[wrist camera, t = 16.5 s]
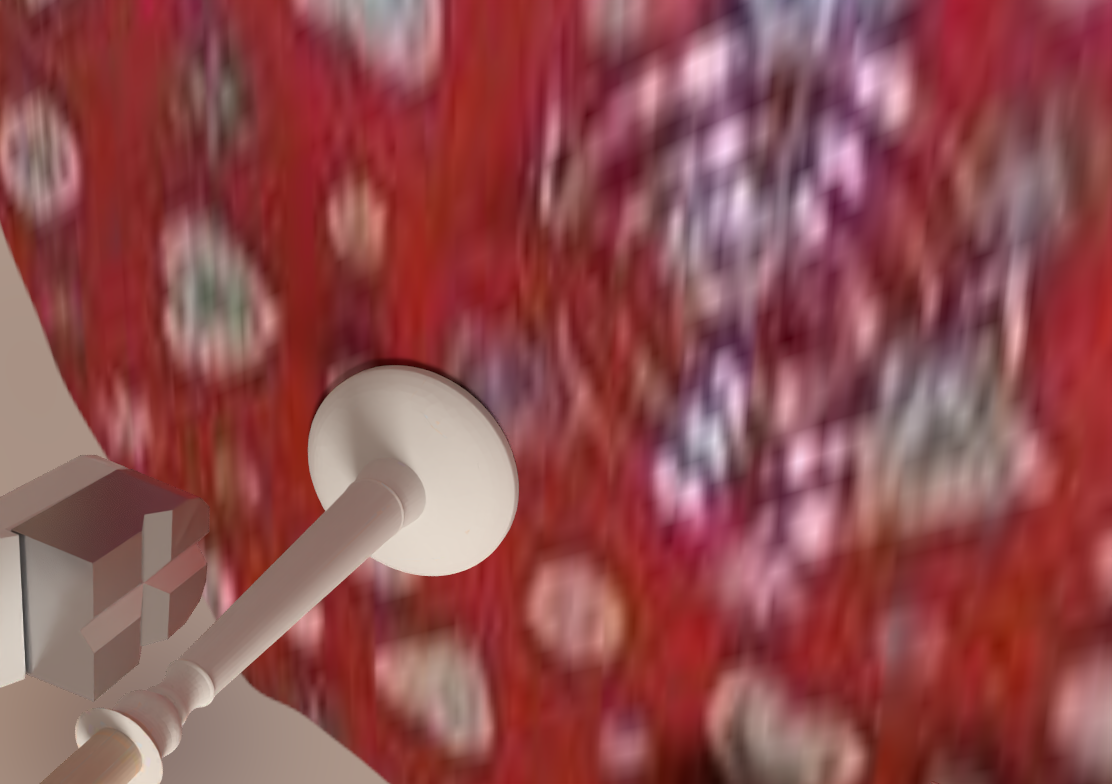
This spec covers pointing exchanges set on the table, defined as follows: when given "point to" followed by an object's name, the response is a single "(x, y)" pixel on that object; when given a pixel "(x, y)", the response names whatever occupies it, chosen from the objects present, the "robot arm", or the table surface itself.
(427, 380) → the candlestick
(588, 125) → the table surface
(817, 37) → the table surface
